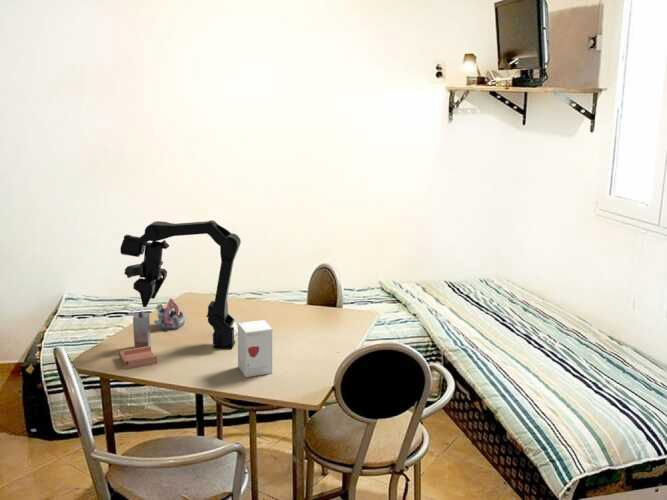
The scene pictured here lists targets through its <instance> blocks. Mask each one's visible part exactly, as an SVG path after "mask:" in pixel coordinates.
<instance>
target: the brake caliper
mask: <svg viewBox="0 0 667 500" xmlns="http://www.w3.org/2000/svg"><path fill="white" fill-rule="evenodd" d="M155 309H156V310H157V318H158V319H156V320H154V321H153V323H154V324H156V325H158V327H160V328H161V329H162V330H175V331H176V330H178V329H180V328H181V327H183V326H184V324H185V323H186V319H185V315H184V313H183V311H181V310H180V309H179V307H178V305H177V303H176V302H175V301H174V300H173V298H171V297H170V298H169V300H168V303H167V306H166V307H164V306H163V304H162V303H157V306H156V307H155ZM179 310H180V311H179Z"/></svg>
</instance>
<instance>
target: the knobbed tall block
mask: <svg viewBox="0 0 667 500" xmlns="http://www.w3.org/2000/svg"><path fill="white" fill-rule="evenodd" d="M132 323H133V325H132V326H133V341H134V342H133V343H134V349H135V348H141V347H147V346H152V345H151V344H152V343H151V329H150V328H151V327H150V326H151V325H150V324H151V323H150V312H143V311H138V312H135V313H134V315H133V317H132Z"/></svg>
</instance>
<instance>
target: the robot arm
mask: <svg viewBox="0 0 667 500" xmlns="http://www.w3.org/2000/svg"><path fill="white" fill-rule="evenodd" d="M205 234H206V235H208V236H209V237H210V238H211V239H212V240H213V241H214V242H215V244H217V245H218V246H219V247H220V248H219V249H220V250H219V251H220V253H219V255H220V259H221V261H220V267H219V274H218V280H217V286H216V291H215V298H214V301H213V300H211V301H210V302H209V304H208V305H207V314H206V318H207V323H209V325H210V326H211V327H212V328H213V333H212V345H213V346H212V347H213V349H216V350H220V349H222V350H233V348H234V346H235V344H236V340H235V328H234V326H233V325H234V322H235V318H234V317H232V316H231V315H230V314H229V306H228V295H229V290H230V283H231V277H232V273H233V265H234V261H235V259H236V257H237V253H238V252H239V248H240V246H241V243H242V242H241V238H240V237H239V235H238V234H236V233H232V232H231V231H230V230H228V229H227V228H225V227H223V226H222V225H220V224H219V223H217V221H215V220H214V219H213V220H212V219H210V220H207V221H193V222H182V223H181V222H179V223H172V222H168V221H159V220H156V221H153V222H151V223H149V224H148V225H147V226H146V227H145V229H144V233H143V234H142V235H141V236H135V235H130V234H125V235H124V236H123V240H122V243H121V245H120V254H121V255H122V256H123V255H124V256H128V257H137V258H140V257H141V255H143V256H144V257H143V261H142V262H141V263H137V264H132V265H127V266H126V268H124V275H126V277H127V278H128V279H129V278H132V277H138V276H139V278H138V279H136V280H135V281H134V282H133V285H132V286H133V287H132V288H133V290H135V291H137V292H138V293H139V295H140V299H141V300H140V301H141V304H142V307H143V308H147V307H148V304H149V302H150V301H151V299H152V300H153V299H155V298H156V296H157V295H158V292H159V291H160V289H161V287H162V285H163V284H164V282H165V280H166V278H167V276H168V271H167V270H166V269H165V268H162V265H163V264H164V261H162V259H163V250H167V249H168V248H169V247H170V245H169V244H168V242H167V241H166V239H169V238H172V237H180V236H193V235H205Z"/></svg>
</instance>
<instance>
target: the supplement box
mask: <svg viewBox="0 0 667 500" xmlns="http://www.w3.org/2000/svg"><path fill="white" fill-rule="evenodd" d="M237 367H238V368H239V369H240V371H241V373H242V374H243V376H244V377H245V378H249V377H257V376H264V375H268V374H269V375H270V374H273V328H272V327H271V326H270V325H269V324H268V323H267V321H266V320H265V319H263V320H262V319H261V320H254V321H247V322H239V323H237Z"/></svg>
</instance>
